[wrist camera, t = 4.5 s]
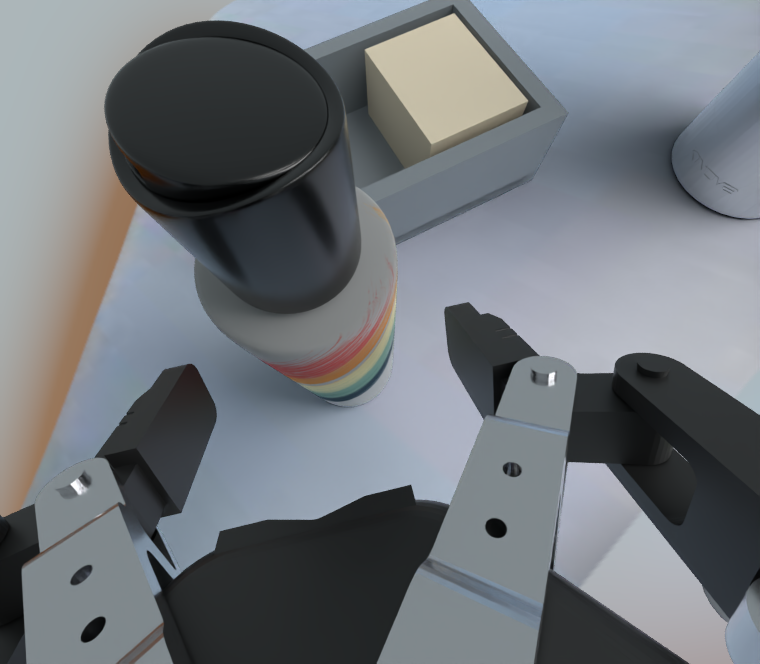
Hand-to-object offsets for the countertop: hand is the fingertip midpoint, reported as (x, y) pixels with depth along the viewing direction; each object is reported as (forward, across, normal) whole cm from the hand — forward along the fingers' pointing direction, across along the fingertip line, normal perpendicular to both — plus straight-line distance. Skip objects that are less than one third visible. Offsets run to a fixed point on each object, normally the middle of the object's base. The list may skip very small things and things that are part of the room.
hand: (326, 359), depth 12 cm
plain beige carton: (+21, -10, -5) cm, 24 cm away
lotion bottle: (+11, 0, +7) cm, 13 cm away
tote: (+21, -5, -3) cm, 22 cm away
